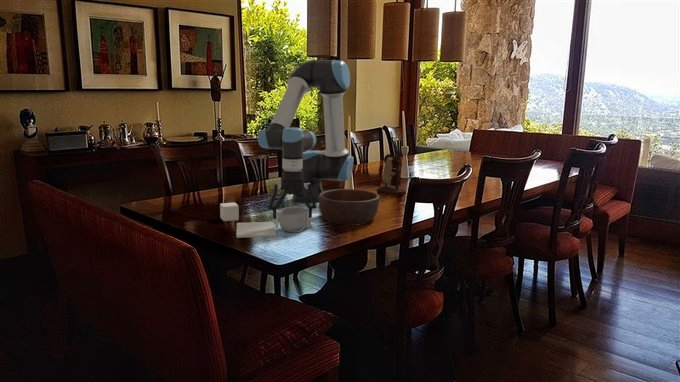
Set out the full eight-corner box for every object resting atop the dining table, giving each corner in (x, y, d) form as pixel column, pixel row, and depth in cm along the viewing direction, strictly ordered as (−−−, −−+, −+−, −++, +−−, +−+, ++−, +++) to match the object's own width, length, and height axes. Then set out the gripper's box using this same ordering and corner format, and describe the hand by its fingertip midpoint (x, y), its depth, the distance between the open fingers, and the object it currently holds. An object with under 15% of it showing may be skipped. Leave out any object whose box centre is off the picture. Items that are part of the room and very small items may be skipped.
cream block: (234, 216, 213) (234, 202, 212) (238, 220, 208) (238, 205, 207) (220, 217, 210) (220, 203, 209) (224, 221, 205) (223, 206, 204)
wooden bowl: (332, 230, 196) (332, 203, 194) (309, 214, 218) (309, 190, 216) (389, 224, 206) (390, 199, 204) (362, 209, 228) (363, 186, 226)
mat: (273, 223, 203) (273, 221, 203) (275, 236, 187) (275, 234, 187) (236, 224, 201) (236, 222, 200) (236, 237, 184) (236, 235, 184)
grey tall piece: (370, 192, 263) (372, 153, 259) (394, 190, 270) (396, 152, 266) (387, 198, 250) (389, 157, 246) (411, 195, 257) (413, 156, 253)
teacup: (302, 235, 189) (302, 214, 187) (274, 233, 191) (274, 212, 189) (312, 225, 202) (312, 205, 200) (285, 223, 204) (285, 203, 202)
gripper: (261, 171, 186) (261, 230, 190) (325, 171, 190) (324, 228, 194) (260, 168, 193) (261, 225, 197) (322, 167, 197) (321, 223, 202)
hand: (292, 226), depth 196 cm, fingers closed on teacup, 11 cm apart
